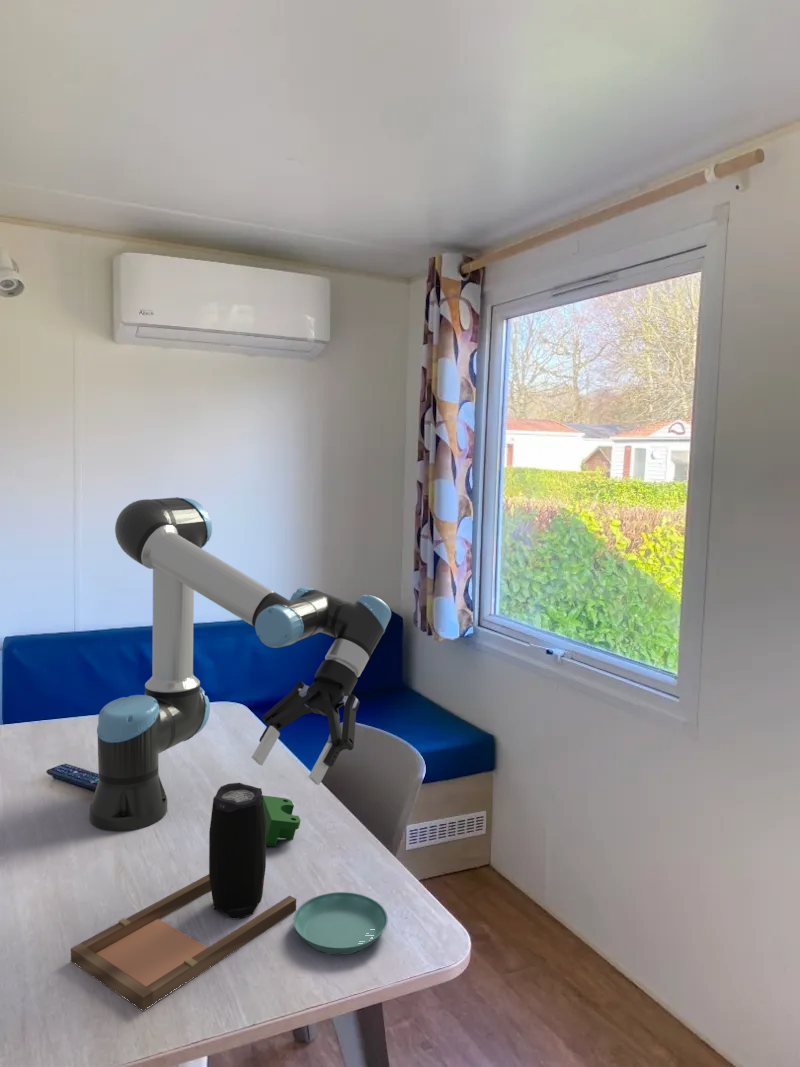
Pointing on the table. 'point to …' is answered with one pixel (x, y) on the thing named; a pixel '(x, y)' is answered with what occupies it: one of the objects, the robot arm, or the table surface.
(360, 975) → the table surface
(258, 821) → the portable speaker
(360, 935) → the saucer
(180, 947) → the flat panel
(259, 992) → the table surface
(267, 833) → the clamp
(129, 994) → the rail track
